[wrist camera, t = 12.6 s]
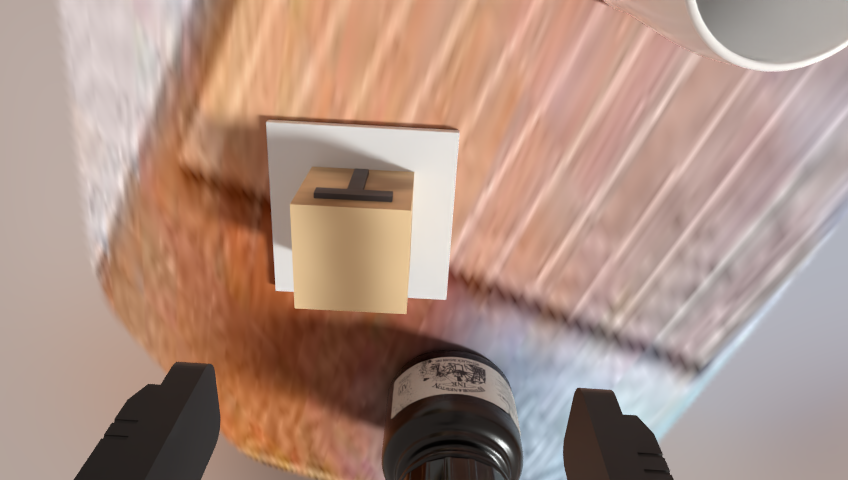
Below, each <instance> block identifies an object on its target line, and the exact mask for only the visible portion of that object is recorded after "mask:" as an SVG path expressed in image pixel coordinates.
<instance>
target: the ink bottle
mask: <svg viewBox="0 0 848 480" xmlns="http://www.w3.org/2000/svg"><path fill="white" fill-rule="evenodd" d="M519 432H520V427H519V422H518V417H517V411H516V406H515V401H514V397H513V394H512V391H511V387H510V384H509V382H508V380H507V378H506V376H505V375H504V374H503V372H502V371H501V370H500V369H499V368H498V367H497V366H496V365H494V364H493V363H492V362H490V361H488V360H487V359H485V358H483V357H480V356H478V355H475V354H472V353H468V352H463V351H453V350H445V351H435V352H430V353H427V354H423V355H421V356H419V357H416V358H415V359H413V360H411V361H410V362H409V363H407V364H406V365H405V366H404V367H403V368H402V369H401V370H400V371H399V372H398V374H397V375H396V377H395V378H394V380H393V382H392V384H391V387H390V390H389V393H388V399H387V409H386V419H385V429H384V439H383V448H382V469H383V474H384V477H385V480H519V478H520V476H521V472H522V467H523V450H522V444H521V439H520V435H521V433H519Z"/></svg>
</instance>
